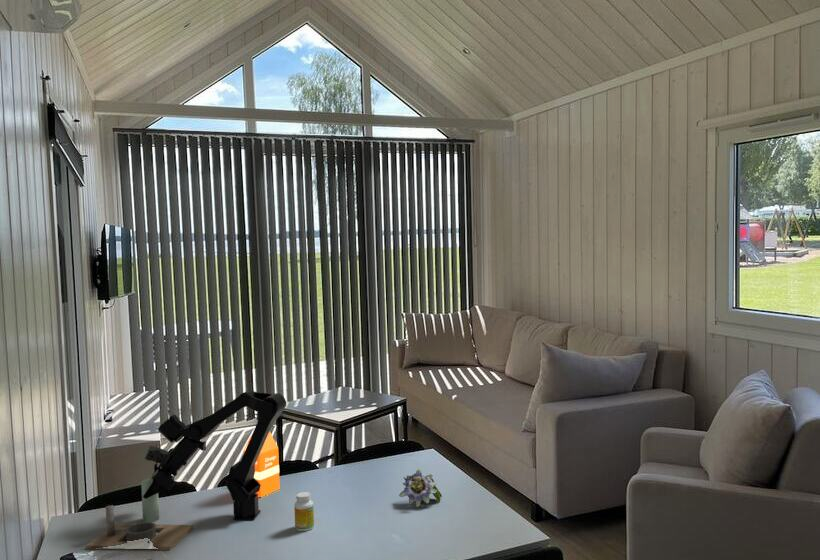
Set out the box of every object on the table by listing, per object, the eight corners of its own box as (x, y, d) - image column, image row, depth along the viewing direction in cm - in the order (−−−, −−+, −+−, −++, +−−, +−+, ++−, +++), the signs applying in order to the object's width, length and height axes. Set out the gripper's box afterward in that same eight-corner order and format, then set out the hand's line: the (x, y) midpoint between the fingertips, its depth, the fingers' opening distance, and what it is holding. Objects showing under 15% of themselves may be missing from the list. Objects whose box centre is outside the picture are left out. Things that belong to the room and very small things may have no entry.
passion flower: (418, 523, 195) (395, 496, 193) (416, 504, 206) (394, 477, 203) (448, 503, 194) (425, 475, 192) (444, 485, 205) (423, 458, 202)
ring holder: (193, 528, 184) (191, 497, 184) (170, 550, 170) (168, 517, 170) (114, 527, 186) (113, 497, 186) (86, 549, 172) (84, 516, 172)
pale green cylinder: (162, 516, 194) (160, 477, 193) (154, 522, 189) (152, 483, 189) (147, 516, 194) (146, 477, 194) (140, 522, 189) (138, 482, 189)
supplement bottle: (310, 532, 179) (308, 498, 178) (292, 531, 180) (291, 497, 179) (316, 524, 184) (315, 491, 184) (299, 523, 185) (298, 490, 185)
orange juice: (280, 489, 213) (278, 431, 213) (261, 498, 206) (258, 437, 205) (263, 486, 218) (261, 428, 217) (244, 494, 210) (241, 434, 210)
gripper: (162, 429, 201) (126, 468, 198) (160, 444, 183) (120, 488, 180) (189, 450, 204) (154, 489, 200) (189, 467, 186) (151, 510, 183)
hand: (144, 493), depth 191 cm, fingers open, 7 cm apart
